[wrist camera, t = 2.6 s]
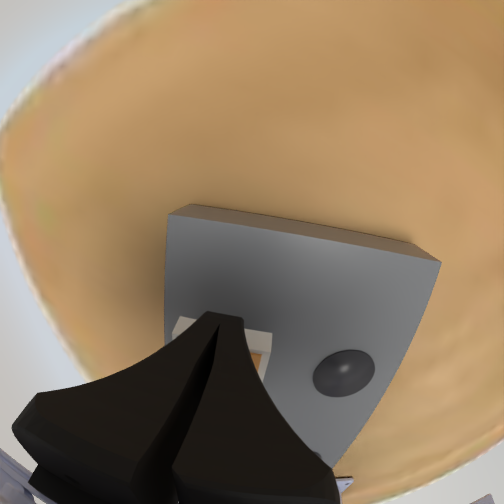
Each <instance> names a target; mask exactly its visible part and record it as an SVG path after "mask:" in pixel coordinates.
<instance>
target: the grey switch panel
mask: <svg viewBox="0 0 504 504" xmlns="http://www.w3.org/2000/svg"><path fill="white" fill-rule="evenodd" d="M441 263H442V262H440V261H439V260H438V259H436V258H435V257H433V256H432V255H430V254H429V253H427V252H426V251H424V250H422V249H421V248H419V247H418V246H416V245H415V244H411V243H406V242H402V241H397V240H393V239H388V238H383V237H379V236H374V235H369V234H364V233H359V232H354V231H349V230H344V229H339V228H334V227H328V226H323V225H318V224H312V223H307V222H301V221H295V220H290V219H284V218H278V217H272V216H266V215H260V214H254V213H247V212H241V211H234V210H228V209H221V208H214V207H207V206H200V205H193V204H189V205H187V206H185V207H183V208H180V209H178V210H176V211H174V212H172V213H170V214H168V226H167V241H166V261H165V295H164V333H165V345H167V344H168V343H170V342H171V341H172V332H173V330H174V328H175V325H176V323H177V321H178V319H179V317H180V316H182V317H187V318H192V319H196V320H197V319H198V318H199V317H200V316H201V315H202V314H203V313H205V312H206V311H211V312H216V313H221V314H227V315H232V316H238V317H242V318H243V320H244V329H250V330H256V331H262V332H269V333H272V346H271V354H270V358H269V361H268V365H267V368H266V372H265V375H264V379H263V382H262V383H263V385H264V387H265V389H266V391H267V392H268V394H269V396H270V398H271V399H272V401H273V403H274V404H275V406H276V407H277V409H278V410H279V412H280V413H281V414H282V416H283V417H284V418H285V420H286V421H287V422H288V424H289V425H290V426H291V428H292V429H293V430H294V432H295V433H296V434H297V435H298V436H299V437H300V438H301V439H302V440H303V442H304V443H305V444H306V445H307V446H308V447H309V448H310V449H311V450H312V451H313V452H314V453H315V454H316V455H317V456H318V457H319V458H320V459H322V460H323V461H324V462H325V463H326V464H327V465H328V466H329V467H331V468H333V467H334V466H335V464H336V463H337V462H338V461H339V459H340V458H341V457H342V456H343V454H344V453H345V452H346V450H347V449H348V448H349V446H350V445H351V444H352V442H353V441H354V439H355V438H356V437H357V435H358V434H359V432H360V431H361V429H362V428H363V426H364V425H365V423H366V422H367V420H368V419H369V417H370V416H371V414H372V413H373V411H374V410H375V408H376V406H377V405H378V403H379V401H380V400H381V398H382V396H383V395H384V393H385V391H386V390H387V388H388V386H389V384H390V383H391V381H392V379H393V377H394V375H395V373H396V372H397V370H398V368H399V366H400V364H401V362H402V360H403V358H404V356H405V354H406V352H407V350H408V348H409V346H410V344H411V341H412V339H413V337H414V335H415V333H416V330H417V328H418V326H419V323H420V321H421V319H422V316H423V314H424V311H425V309H426V306H427V304H428V301H429V298H430V296H431V293H432V290H433V287H434V285H435V282H436V279H437V276H438V273H439V270H440V267H441Z"/></svg>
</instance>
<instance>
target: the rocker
mask: <svg viewBox="0 0 504 504" xmlns="http://www.w3.org/2000/svg"><path fill="white" fill-rule="evenodd" d="M195 321H196V319H192V318H187V317H182V316H180V317H179V319H178V321H177V323H176V325H175V328H174V330H173V332H172V340H174V339H175V338H176V337H177V336H179V335H180V334H181V333H182V332H184V331H185V330H186V329H187V328H188V327H189V326H191V325H192V324H193V323H194V322H195ZM244 330H245V336H246V341H247V344H248V348H249V351H250V354H251V357H252V360H253V363H254V365H255V368H256V370H257V372H258V375H259V377H260V379H261V381H262V382H263V379H264V375H265V372H266V368H267V365H268V361H269V358H270V354H271V346H272V333H269V332H262V331H256V330H250V329H244Z"/></svg>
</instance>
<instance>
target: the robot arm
mask: <svg viewBox="0 0 504 504" xmlns="http://www.w3.org/2000/svg"><path fill="white" fill-rule="evenodd" d="M12 431H13V433H14V436H15V437H16V438H17V440H18V441H19V443H20V444H21V445H22V446H23V448H24V449H25V450H26V451H27V452H28V453H29V455H30V456H31V457H32V458H33V459H34V460H35V461H36V462H37V464H38V466H37V467H36V469H35V471H34V472H33V473H32V472H30V471H29V470H27V469H26V468H25V467H23V466H22V465H21V464H19V463H18V462H16V461H15V460H14V459H13V458H11V457H10V456H9V455H8V454H7V453H5V452H4V451H3V450H2V449H0V504H36V503H35V501H34V497H33V495H34V496H36V497H37V498H39V499H40V500H42V501H43V502H45V503H46V504H342V497H341V493H342V492H343V491H344V490H345V489H346V488H347V487H348V486H349V485H350V484H351V483H352V482H353V481H354V479H353V478H341V479H335V476H334V473H333V471H332V468H331V467H329V466H328V465H327V464H326V463H325V462H324V461H323V460H322V459H320V458H319V457H318V456H317V455H316V454H315V453H314V452H313V451H312V450H311V449H310V448H309V447H308V446H307V445H306V444H305V443H304V442H303V440H302V439H301V438H300V437H299V436H298V435H297V434H296V433H295V432H294V430H293V429H292V428H291V426H290V425H289V424H288V422H287V421H286V420H285V418H284V417H283V416H282V414H281V413H280V412H279V410H278V409H277V407H276V406H275V404H274V403H273V401H272V399H271V398H270V396H269V394H268V392H267V391H266V389H265V387H264V385H263V383H262V381H261V379H260V377H259V375H258V372H257V370H256V368H255V365H254V363H253V360H252V357H251V354H250V351H249V348H248V344H247V341H246V336H245V330H244V320H243V318H242V317H238V316H232V315H227V314H221V313H216V312H211V311H206V312H205V313H203V314H202V315H201V316H200V317H199V318H198V319H197V320H196V321H195V322H194V323H193V324H192V325H191V326H189V327H188V328H187V329H186V330H185V331H184V332H182V333H181V334H180V335H179V336H177V337H176V338H175V339H174V340H172V341H171V342H170V343H168V344H167V345H165V346H164V347H162V348H161V349H160V350H158V351H157V352H155V353H154V354H152V355H150V356H149V357H147V358H145V359H144V360H142V361H140V362H138V363H136V364H135V365H133V366H131V367H129V368H126V369H124V370H122V371H119V372H117V373H115V374H112V375H110V376H108V377H105V378H102V379H99V380H96V381H93V382H90V383H86V384H82V385H79V386H75V387H71V388H65V389H60V390H54V391H48V392H40V393H37V394H36V395H35V396H34V398H33V399H32V400H31V401H30V402H29V403H28V405H27V406H26V407H25V409H24V410H23V411H22V412H21V414H20V415H19V416H18V418H17V419H16V420H15V422H14V423H13V424H12ZM31 493H32V494H33V495H32V494H31ZM178 501H179V503H178ZM471 504H494V501H493V498H492V495H491V494H488V495H486V496H484V497H482V498H480V499H478V500H476V501H475V502H473V503H471Z"/></svg>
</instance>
